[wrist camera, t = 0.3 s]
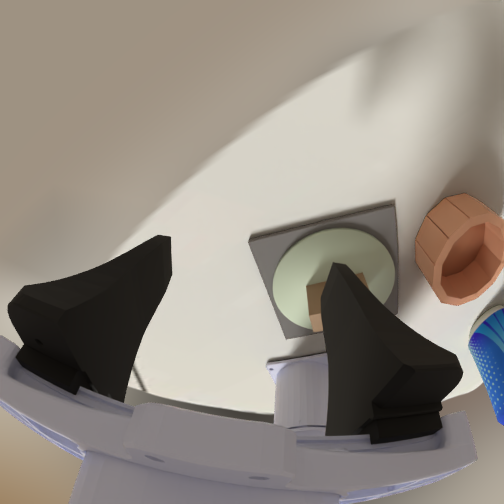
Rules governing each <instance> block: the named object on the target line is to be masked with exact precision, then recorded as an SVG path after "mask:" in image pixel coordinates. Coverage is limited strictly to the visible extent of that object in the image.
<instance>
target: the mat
mask: <svg viewBox="0 0 504 504" xmlns="http://www.w3.org/2000/svg"><path fill="white" fill-rule="evenodd" d="M330 228H352V229H357V230H361V231H364V232H366V233H368V234H370V235H372V236H374V237H375V238H377V239H378V240H379V241H380V242H381V243H382V244H383V245H384V246H385V248H386V249H387V250H388V252H389V254H390V256H391V258H392V260H393V263H394V267H395V281H394V285H393V288H392V291H391V293H390V295H389V297H388V299H387V300H386V302H385V303H384V304H383V305H384V306H385V307H386V308H387V309H388V310H389V311H390V312H392V313H393V314H394V315H396V314H397V313H398V251H397V233H396V220H395V209H394V206H393V205H392V204H391V205H387V206H383V207H379V208H374V209H370V210H366V211H362V212H358V213H354V214H349V215H345V216H341V217H337V218H333V219H329V220H325V221H321V222H317V223H313V224H308V225H304V226H300V227H296V228H292V229H288V230H284V231H280V232H276V233H272V234H269V235H265V236H261V237H257V238H253V239H249V241H248V243H249V246H250V248H251V251H252V254H253V256H254V259H255V261H256V264H257V266H258V269H259V272H260V274H261V277H262V279H263V282H264V284H265V287H266V289H267V292H268V295H269V297H270V300H271V302H272V305H273V307H274V310H275V313H276V315H277V318H278V320H279V323H280V325H281V328H282V330H283V333H284V336H285V338H286V339H291V338H297V337H302V336H307V335H312V334H317V333H322V332H323V331H319V332H313V330H312V329H308V328H304V327H301V326H299V325H297V324H295V323H293V322H292V321H290V320H289V319H288V318H287V317H285V316H284V315H283V313H282V312H281V311H280V310H279V308H278V307H277V304H276V302H275V299H274V296H273V277H274V272H275V269H276V267H277V264H278V263H279V261H280V259H281V258H282V256H283V255H284V254H285V253H286V251H287V250H288V249H289V248H290V247H291V246H293V245H294V244H295V243H296V242H298V241H299V240H301V239H303V238H304V237H306V236H308V235H310V234H313V233H315V232H318V231H321V230H325V229H330Z"/></svg>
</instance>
